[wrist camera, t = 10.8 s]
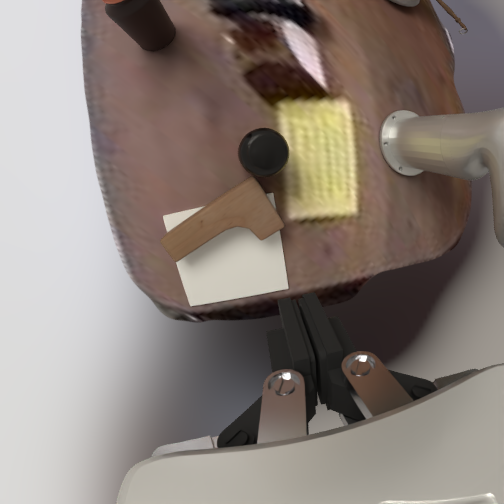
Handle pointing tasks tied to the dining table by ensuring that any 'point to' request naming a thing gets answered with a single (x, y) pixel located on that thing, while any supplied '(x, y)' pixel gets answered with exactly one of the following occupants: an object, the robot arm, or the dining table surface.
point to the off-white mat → (231, 264)
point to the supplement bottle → (263, 152)
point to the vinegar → (142, 21)
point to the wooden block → (225, 219)
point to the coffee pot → (414, 0)
